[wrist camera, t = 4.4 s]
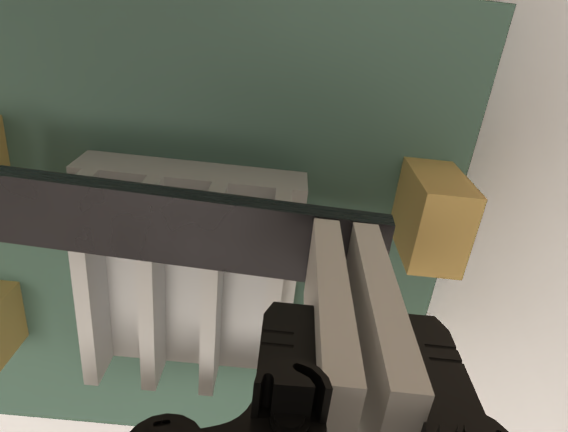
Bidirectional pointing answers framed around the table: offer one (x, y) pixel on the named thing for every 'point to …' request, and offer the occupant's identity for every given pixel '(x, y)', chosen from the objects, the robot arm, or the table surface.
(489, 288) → the table surface
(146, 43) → the board
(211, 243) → the strap
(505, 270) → the table surface
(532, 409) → the table surface
